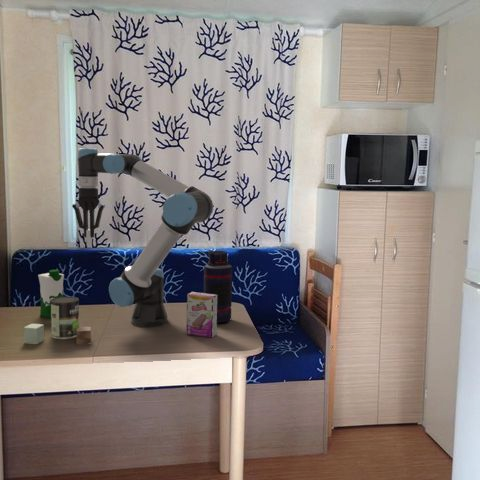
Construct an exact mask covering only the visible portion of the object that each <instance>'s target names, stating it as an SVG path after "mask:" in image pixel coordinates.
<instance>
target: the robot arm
mask: <svg viewBox="0 0 480 480" xmlns="http://www.w3.org/2000/svg"><path fill="white" fill-rule="evenodd" d="M77 154H78V155H77V165H78V166H77V167H78V177H77V178H78V187H79V188H78V200H77V202H76V203H74V204H73V203H72V206H71V207H72V208H73V210H74V213H75V216H76V220H77V225H78V228H79V229H82V230H83V237H84V238H85V239H86V246H87V247H91V246H92V245H93V238H95V230H97V229H98V228H99V227H100V224H101V218H102V215H103V210H104V209H105V207H106V205H105V204H102V203H101V202H100V200H99V189H98V187H99V174H111V175H112V174H113V175H114V174H115V175H116V174H127V175H129V176H130V177H132V178H133V179H136V180H138V181H140V182H141V183H142V184H145V185H147V186H148V187H150V188H152V189H153V190H155V191H156V192H158V193H160V194H162V195H163V196H166V197H167V198H166V200H165V201H164V203H163V205H162V211H163V212H162V214H161V217H160V220H161V223H160V224H159V226H158V227H157V229H156V231H154V233H153V235H152V236H151V238H150V239H149V240H148V242H147V243H146V245H145V247H144V248H143V249H142V251H141V253H140V254H139V255H138V257H137V258H136V260H135V261H134V262H133V264H132V265H129V266H126V268H125V269H124V270H123V271H122V273H121V275H120V276H119V277H115V278H114V279H113V280H111V281H110V283H109V286H108V293H109V297H110V299H111V300H112V302H113V303H114V304H115V305H116V306H117V307H122V308H127V307H130V306H132V305H134V307H133V310H132V313H131V316H130V317H131V318H130V319H131V321H130V323H131V324H132V325H134V326H139V327H145V328H146V327H158V326H162V325H165V324H166V323H168V320H169V319H168V314H167V310H166V307H165V303H164V295H165V293H164V291H165V290H164V288H165V287H164V282H165V280H164V279H165V277H164V271H163V269H161V268H159V267H160V266H161V264H162V263H163V262H164V260H165V258H166V257H167V256H168V255H169V253H170V252H171V250H172V249H173V248H174V246H175V244H176V243H177V242H178V241H179V239H180V238H181V236H185V235H187V234H189V232H190V230H191V229H192V228H193V227H194V225H195V224H198V223H199V224H200V223H203V222H205V221H207V220H208V219H209V218H210V217H211V215H212V213H213V211H214V203H213V200H212V198H211V196H209V195H208V193H206V192H204V191H202V190H200V189H199V188H197V187H195V186H187V185H186V184H184V183H182V182H181V181H179V180H177V179H176V178H173V177H172V176H170V175H168V174H166V173H164V172H162V171H161V170H160V169H157V168H156V167H153V166H151V165H150V164H148V163H146V162H144V161H143V159H142V158H141V157H140V156H139V155H137V154H132V153H131V154H129V153H128V154H126V153H123V154H121V153H98V149H97V148H92V147H91V148H87V147H86V148H85V147H83V148H82V147H81V148H79V149H78V153H77ZM80 208H81V209H82V213H83V214H82V213H81V210H80ZM97 208H98V210H97V215H96V219H95V213H96V211H95V210H96V209H97ZM82 216H83V217H82Z"/></svg>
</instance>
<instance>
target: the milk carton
mask: <svg viewBox="0 0 480 480" xmlns="http://www.w3.org/2000/svg"><path fill="white" fill-rule="evenodd" d="M37 277H38V281H39V286H40V287H39V289H40V290H39V291H40V314H39V315H40V316H42V317H44V318H47V319H51V299H54V298H57V297H64V278H65V274H64V273H63V274H62V273H60V270H59V269H50V270H49V271H48V272H46V273H41V274H38V275H37Z"/></svg>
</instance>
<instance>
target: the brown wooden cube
mask: <svg viewBox="0 0 480 480" xmlns="http://www.w3.org/2000/svg"><path fill="white" fill-rule="evenodd" d="M76 333H77V337H76V345H86V344H87V345H89V344H88V343H91V344H92V327H91V326H79V327H77V331H76Z"/></svg>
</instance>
